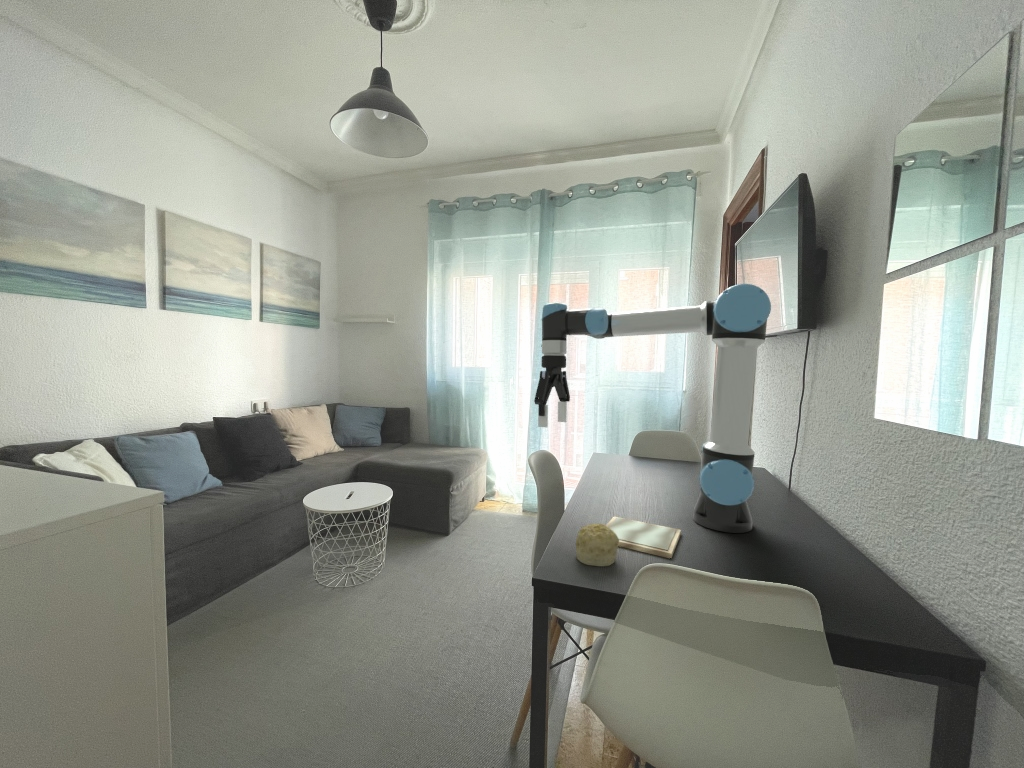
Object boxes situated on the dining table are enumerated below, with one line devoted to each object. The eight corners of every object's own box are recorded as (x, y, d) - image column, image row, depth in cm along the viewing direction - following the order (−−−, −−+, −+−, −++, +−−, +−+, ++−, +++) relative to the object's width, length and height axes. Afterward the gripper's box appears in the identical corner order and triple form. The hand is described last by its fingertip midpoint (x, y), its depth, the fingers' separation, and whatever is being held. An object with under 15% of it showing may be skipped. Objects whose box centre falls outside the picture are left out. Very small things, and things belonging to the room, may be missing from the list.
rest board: (680, 534, 107) (680, 529, 107) (671, 558, 93) (671, 552, 93) (613, 520, 116) (613, 515, 116) (596, 540, 102) (596, 535, 102)
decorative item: (578, 579, 90) (592, 556, 84) (565, 539, 98) (577, 515, 92) (615, 574, 93) (632, 552, 87) (599, 535, 100) (613, 512, 94)
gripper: (559, 356, 135) (558, 419, 135) (522, 353, 113) (522, 428, 114) (580, 356, 131) (579, 420, 132) (546, 353, 109) (545, 430, 110)
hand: (552, 424), depth 123 cm, fingers open, 13 cm apart
